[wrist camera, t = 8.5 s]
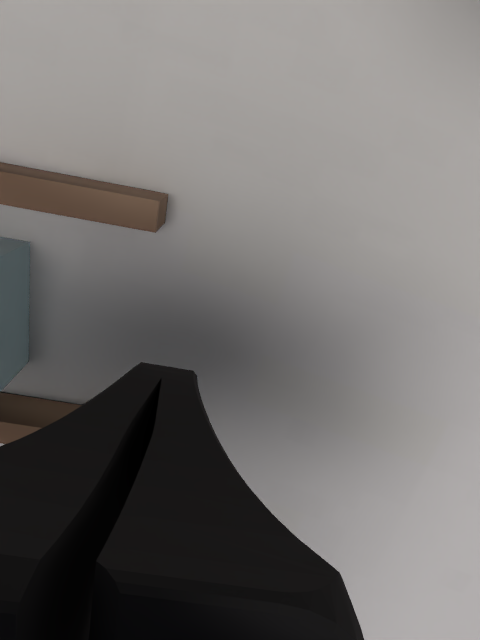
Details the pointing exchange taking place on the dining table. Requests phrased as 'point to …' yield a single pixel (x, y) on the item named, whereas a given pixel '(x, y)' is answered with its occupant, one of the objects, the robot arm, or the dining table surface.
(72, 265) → the dining table surface
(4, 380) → the pale blue rectangular block
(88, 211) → the slot comb
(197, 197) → the dining table surface
